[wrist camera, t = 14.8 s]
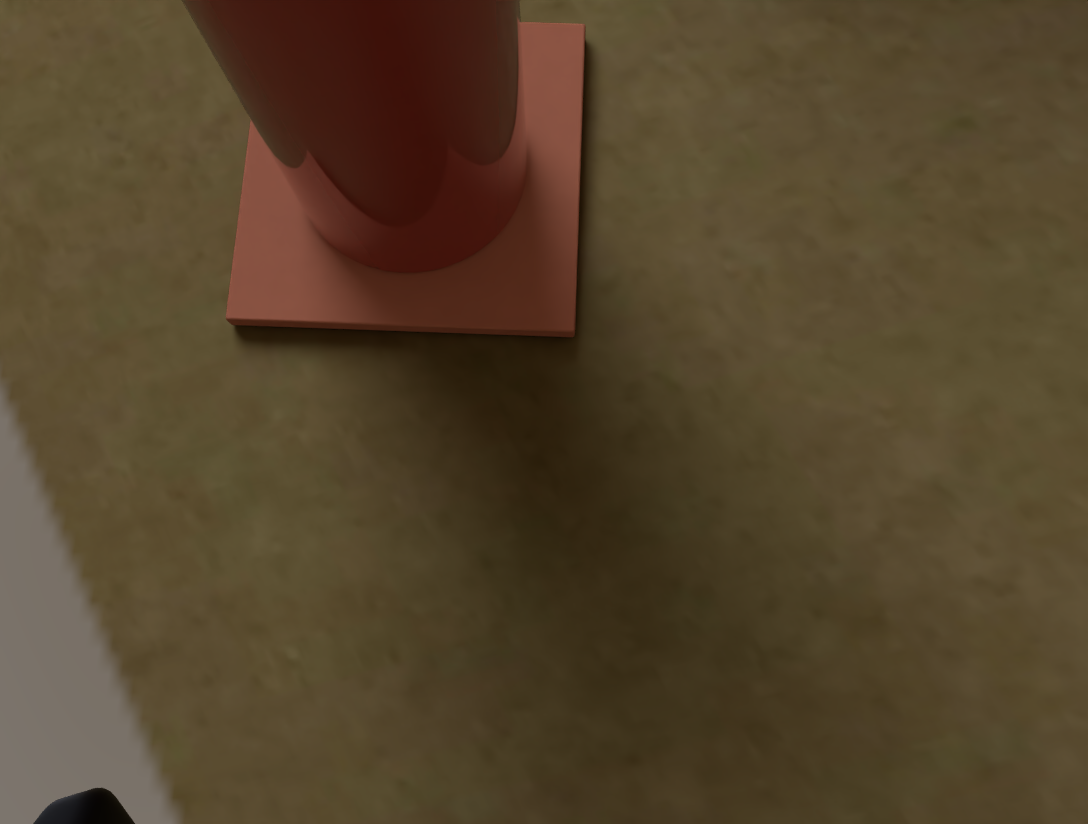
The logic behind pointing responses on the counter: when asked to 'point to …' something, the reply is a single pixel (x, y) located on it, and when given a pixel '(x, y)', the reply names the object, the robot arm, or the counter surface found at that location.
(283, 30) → the red cylinder
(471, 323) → the terracotta pad
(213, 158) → the counter surface
